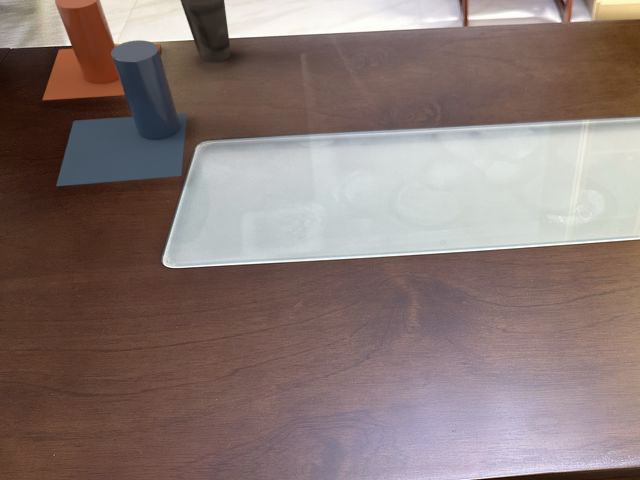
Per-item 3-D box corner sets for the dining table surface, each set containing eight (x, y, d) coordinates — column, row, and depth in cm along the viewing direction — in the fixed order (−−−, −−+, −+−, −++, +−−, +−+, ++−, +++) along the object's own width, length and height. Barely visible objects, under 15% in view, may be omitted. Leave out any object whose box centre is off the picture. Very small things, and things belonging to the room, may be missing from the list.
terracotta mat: (43, 103, 103) (42, 100, 102) (60, 52, 112) (58, 49, 112) (154, 96, 105) (153, 93, 105) (161, 47, 115) (160, 43, 114)
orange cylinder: (81, 85, 105) (51, 9, 97) (86, 66, 109) (58, -9, 100) (121, 82, 106) (96, 7, 98) (125, 63, 110) (100, -11, 101)
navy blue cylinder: (135, 141, 97) (108, 63, 88) (139, 118, 100) (113, 41, 92) (179, 138, 97) (156, 60, 89) (181, 115, 101) (159, 38, 93)
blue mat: (57, 190, 90) (55, 186, 90) (75, 124, 100) (73, 120, 99) (182, 179, 92) (181, 175, 92) (188, 116, 102) (186, 112, 102)
